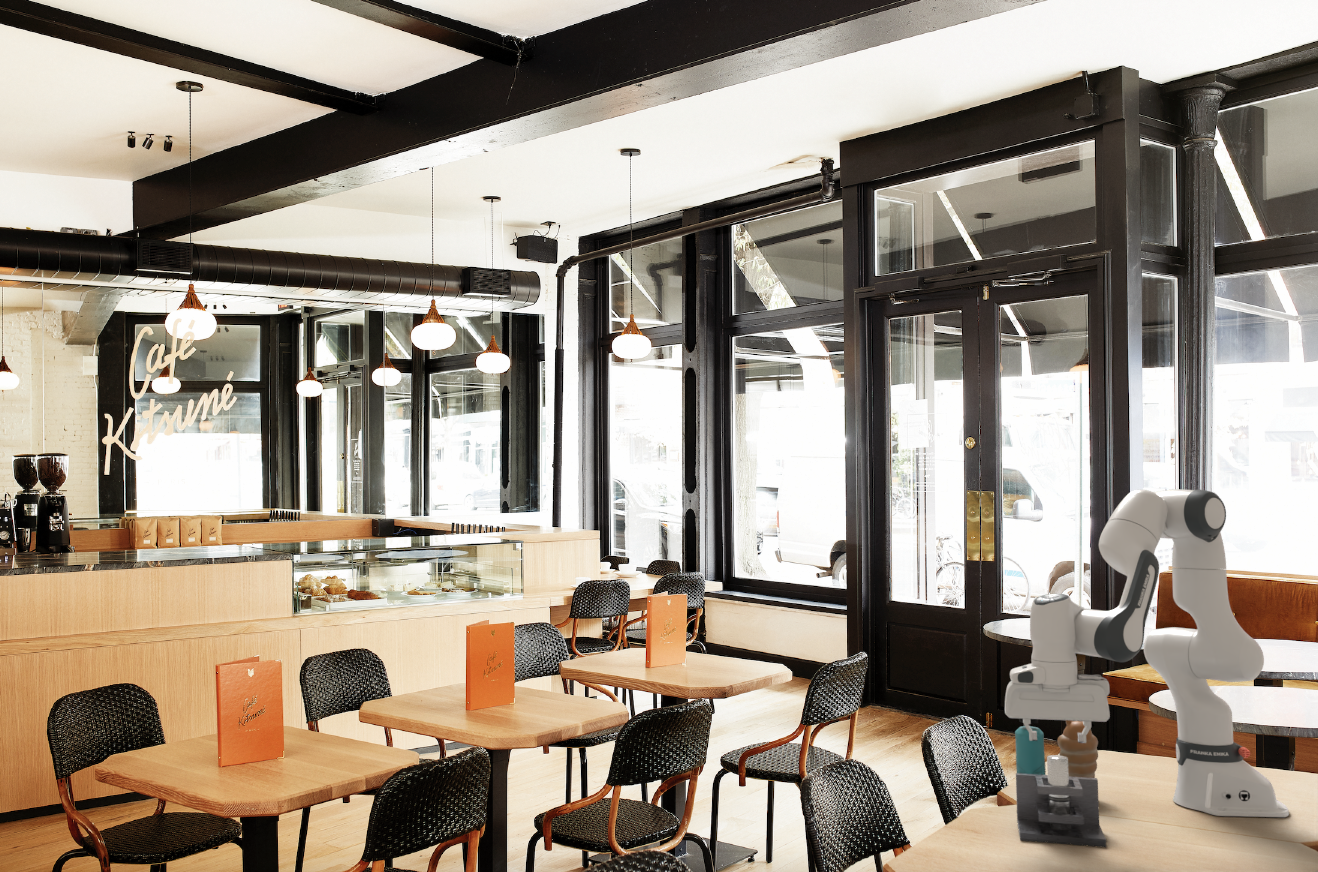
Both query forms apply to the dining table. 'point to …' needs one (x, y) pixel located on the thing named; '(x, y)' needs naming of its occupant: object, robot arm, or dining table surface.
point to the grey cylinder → (1058, 777)
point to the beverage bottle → (1030, 751)
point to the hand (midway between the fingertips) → (1057, 741)
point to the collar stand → (1037, 816)
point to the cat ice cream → (1078, 750)
